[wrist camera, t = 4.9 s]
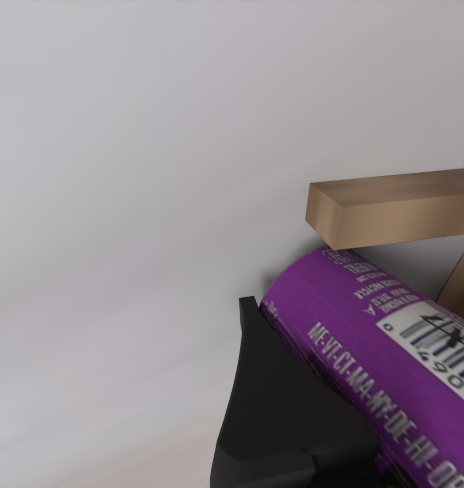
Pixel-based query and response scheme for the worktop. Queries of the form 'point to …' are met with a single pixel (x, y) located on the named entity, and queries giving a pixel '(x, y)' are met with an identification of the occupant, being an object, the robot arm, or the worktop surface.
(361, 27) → the worktop surface
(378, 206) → the pin nest
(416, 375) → the beverage can
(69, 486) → the worktop surface
